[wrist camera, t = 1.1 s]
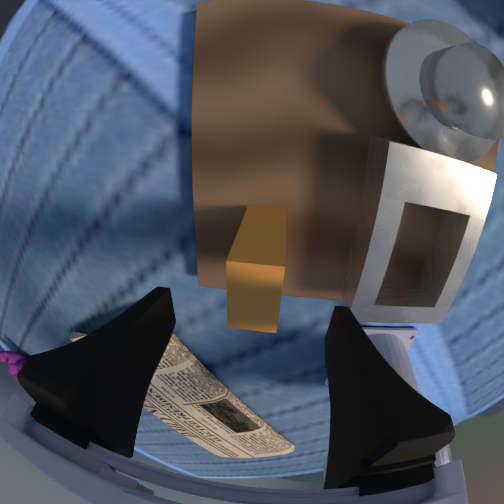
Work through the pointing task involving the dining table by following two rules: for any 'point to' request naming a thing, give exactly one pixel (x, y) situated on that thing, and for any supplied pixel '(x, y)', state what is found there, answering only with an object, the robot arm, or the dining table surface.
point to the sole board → (294, 136)
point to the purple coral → (13, 361)
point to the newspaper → (206, 408)
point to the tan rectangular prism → (257, 270)
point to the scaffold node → (426, 171)
